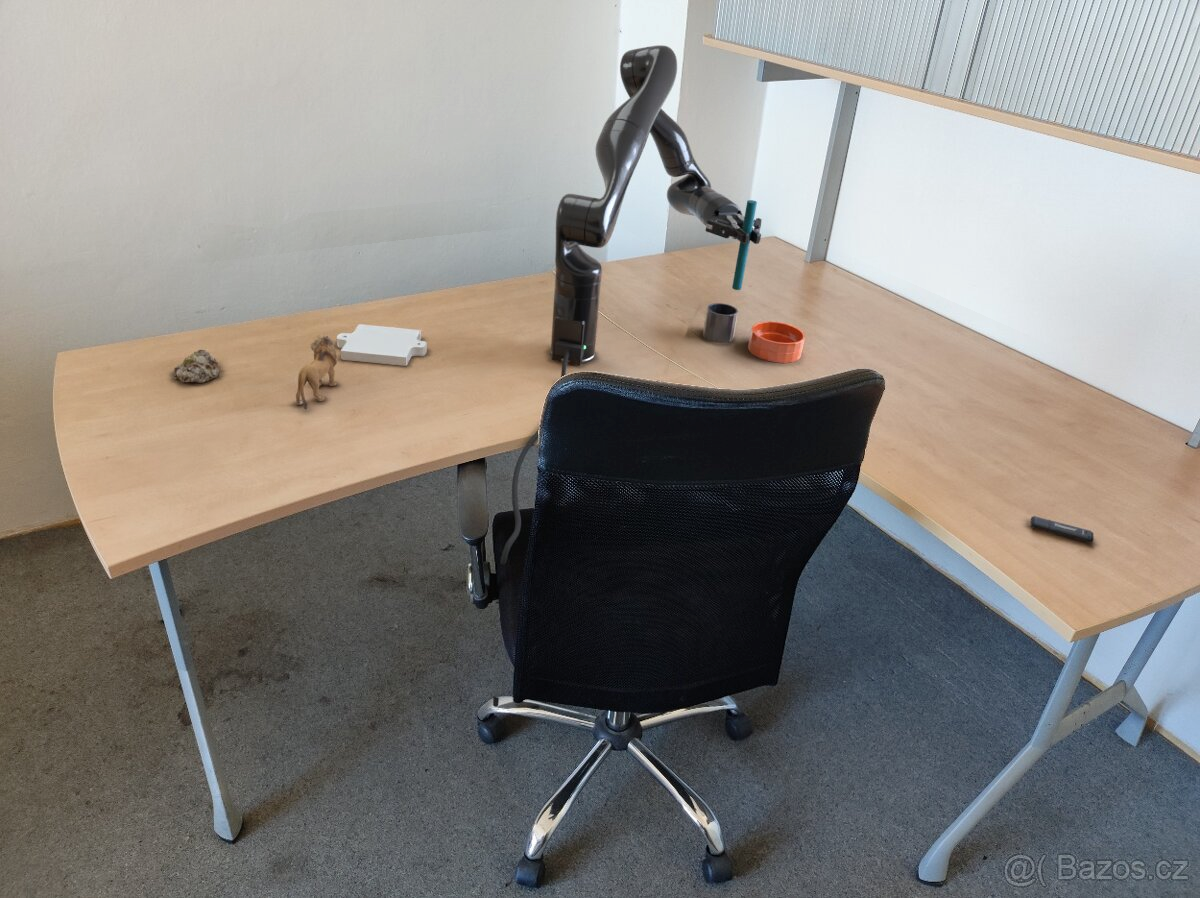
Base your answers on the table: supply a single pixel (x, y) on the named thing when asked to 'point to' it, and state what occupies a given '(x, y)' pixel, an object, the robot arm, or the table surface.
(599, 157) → the robot arm
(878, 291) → the table surface
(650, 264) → the table surface
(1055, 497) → the table surface
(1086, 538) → the usb stick
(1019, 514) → the table surface
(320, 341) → the lion figurine
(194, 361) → the mineral rock
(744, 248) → the straw
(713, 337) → the tumbler
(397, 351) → the mounting plate
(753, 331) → the bowl
